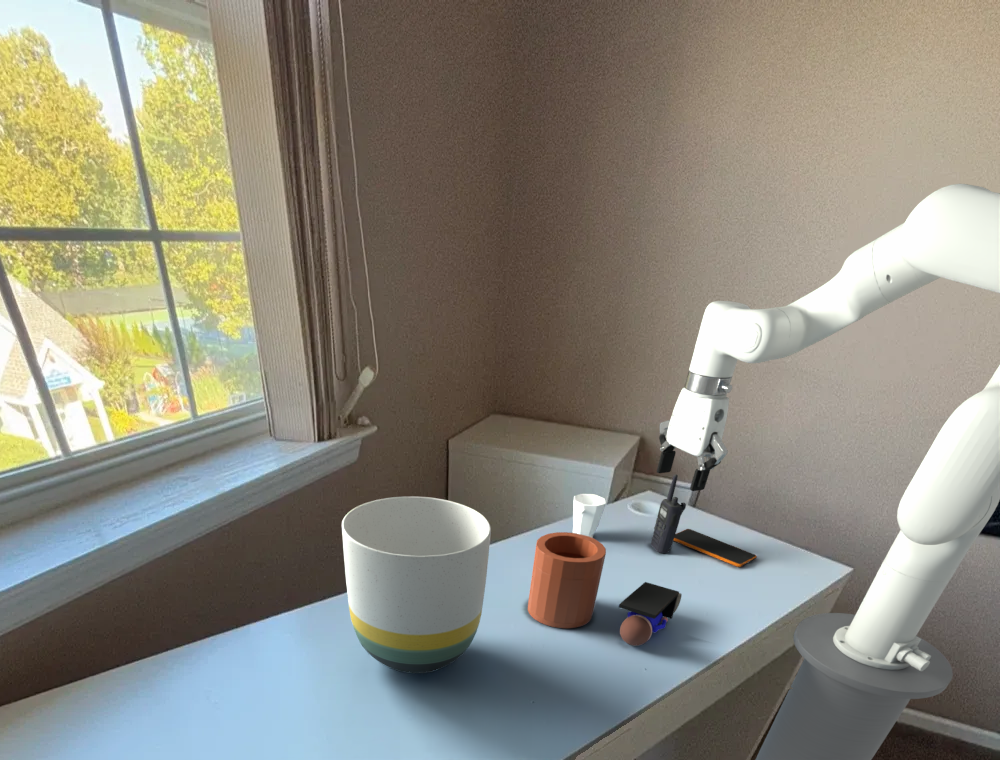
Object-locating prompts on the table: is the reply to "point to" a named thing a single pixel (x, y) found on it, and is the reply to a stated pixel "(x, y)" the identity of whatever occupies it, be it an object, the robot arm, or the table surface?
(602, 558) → the jar
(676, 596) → the figurine character
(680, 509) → the two-way radio
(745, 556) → the smartphone
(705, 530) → the table surface
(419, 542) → the planter
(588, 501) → the cup
